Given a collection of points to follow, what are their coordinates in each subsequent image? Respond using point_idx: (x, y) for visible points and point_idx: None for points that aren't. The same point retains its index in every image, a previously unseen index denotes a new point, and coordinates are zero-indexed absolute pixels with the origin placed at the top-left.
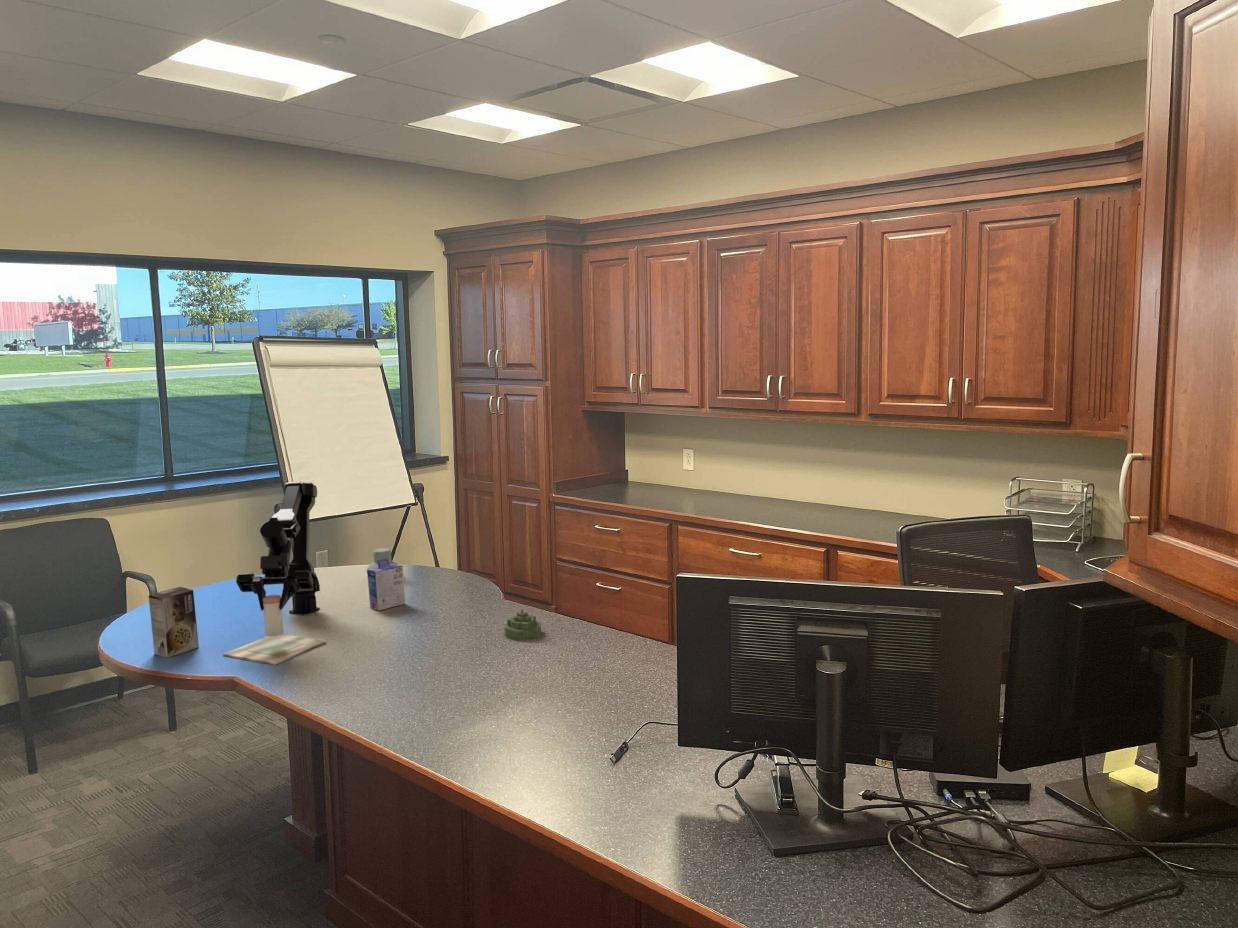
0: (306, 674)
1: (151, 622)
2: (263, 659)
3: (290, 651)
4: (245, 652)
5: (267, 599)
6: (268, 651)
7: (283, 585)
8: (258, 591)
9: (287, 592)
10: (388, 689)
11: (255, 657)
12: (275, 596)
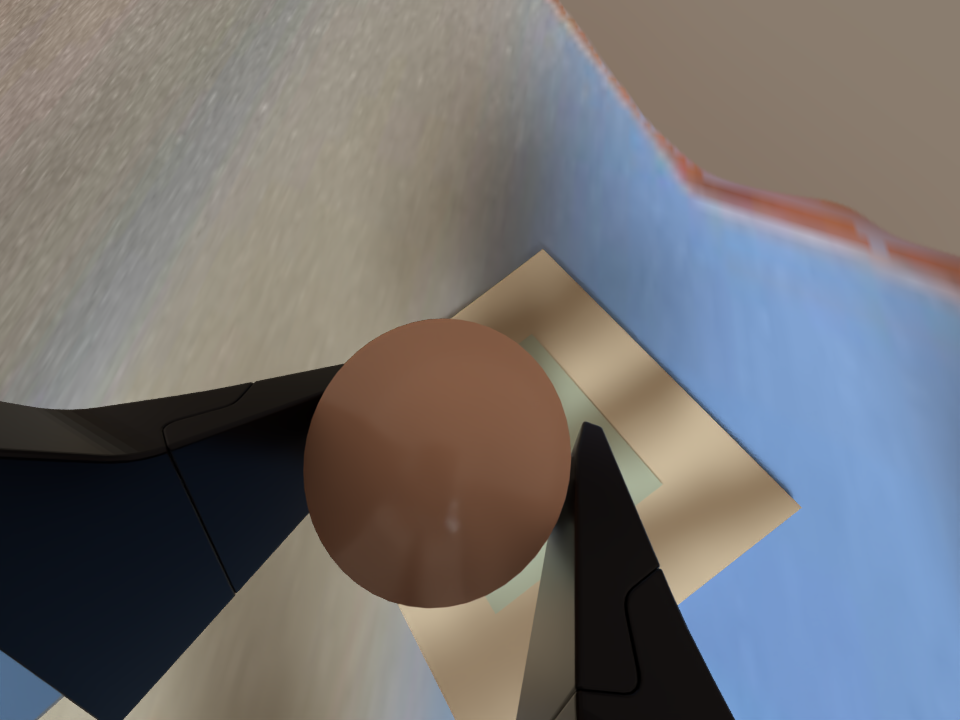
0: (459, 134)
1: None
2: (583, 310)
3: None
4: (667, 458)
5: (507, 346)
6: None
7: (53, 452)
8: (679, 707)
9: (186, 404)
10: (321, 4)
11: (617, 353)
12: (372, 457)
